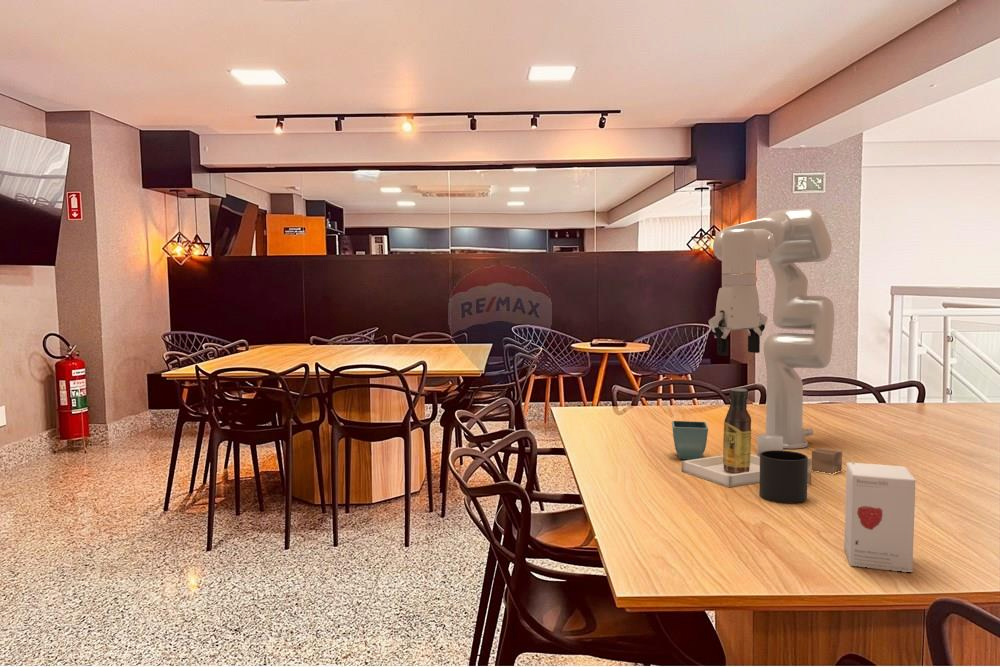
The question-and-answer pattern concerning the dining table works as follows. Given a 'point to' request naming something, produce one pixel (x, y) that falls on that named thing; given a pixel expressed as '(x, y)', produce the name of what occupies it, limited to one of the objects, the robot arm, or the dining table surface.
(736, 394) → the sauce bottle
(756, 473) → the tray
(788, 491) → the mug
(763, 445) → the white rounded block
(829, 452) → the walnut cube
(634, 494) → the dining table surface
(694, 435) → the flower pot
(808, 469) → the beech block
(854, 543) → the supplement box
